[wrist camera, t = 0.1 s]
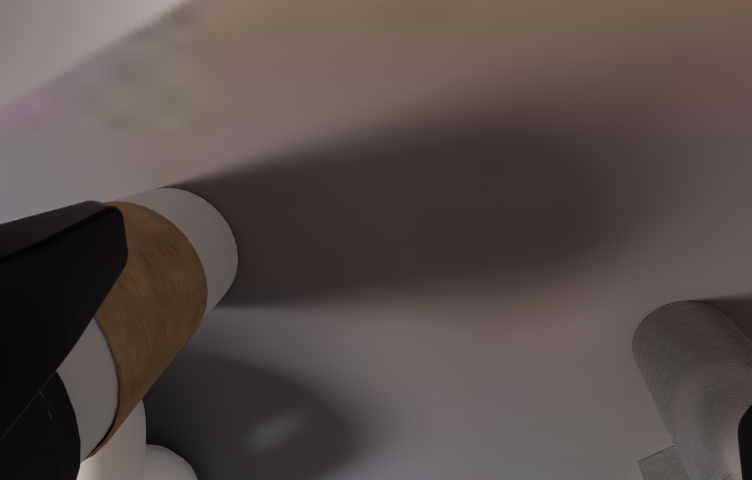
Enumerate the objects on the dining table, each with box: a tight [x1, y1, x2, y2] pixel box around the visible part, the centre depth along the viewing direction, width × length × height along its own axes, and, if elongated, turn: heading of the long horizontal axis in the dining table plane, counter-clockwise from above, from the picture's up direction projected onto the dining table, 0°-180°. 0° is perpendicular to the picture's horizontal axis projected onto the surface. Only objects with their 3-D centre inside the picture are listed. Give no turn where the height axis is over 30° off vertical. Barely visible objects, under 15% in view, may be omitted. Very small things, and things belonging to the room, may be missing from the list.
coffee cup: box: [0, 188, 238, 480], centre depth 19 cm, size 8×8×15 cm
